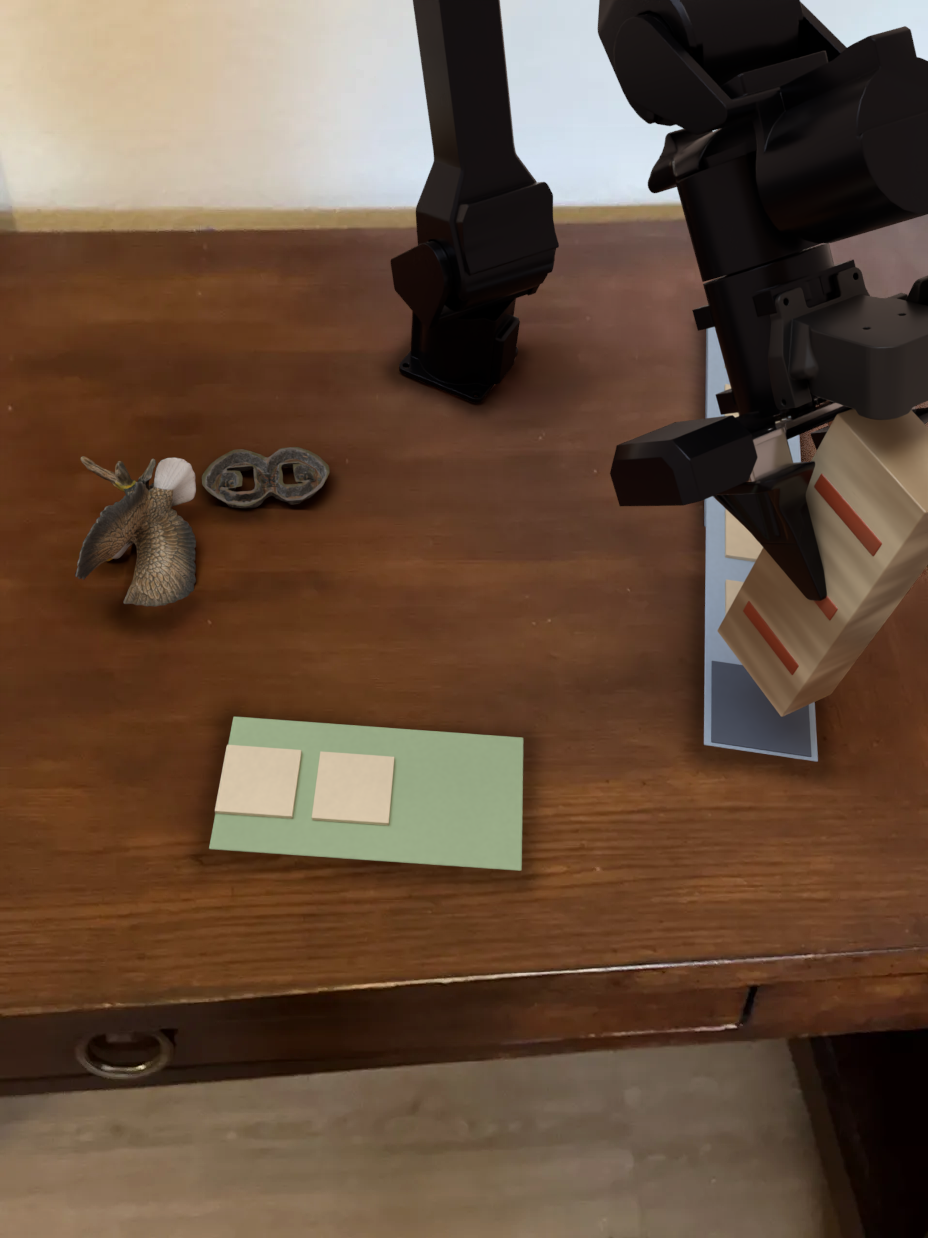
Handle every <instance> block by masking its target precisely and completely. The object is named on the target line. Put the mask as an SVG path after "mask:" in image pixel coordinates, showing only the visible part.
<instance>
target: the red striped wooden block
mask: <svg viewBox="0 0 928 1238" xmlns="http://www.w3.org/2000/svg"><path fill="white" fill-rule="evenodd" d="M813 461H815V468H814V471H813V474H812V477H811V480H810V483H809V485H808V488H807V491H806V502H807V505H808V509H809V513H810V517H811V521H812V525H813V528H814V532H815V536H816V540H817V544H818V548H819V552H820V556H821V560H822V564H823V569H824V575H825V582H826V590H827V597H826V598H825V599H824V600H821V601H813V600H808V599H807V598H806V597H805V596H804V595H803V594H802V593H801V591H800V590H799V589H798V588H797V587H796V586H795V584H794V583H793V582H792V581H791V580H790V578H789V577H788V576H787V575H786V574H785V573H784V571H783V570H782V569H781V568H780V567H779V565H778V564H777V563H776V562H775V561H774V560H773V558H772V557H771V556H770V555H769V554H768V553H767V551H766V550H765V549H764V548H763V549H762V551H761V552H760V554H759V556H758V558H757V560H756V561H755V563H754V565H753V567H752V569H751V570H750V572H749V574H748V576H747V578H746V579H745V581H744V583H743V585H742V587H741V588H740V590H739V592H738V594H737V596H736V597H735V599H734V601H733V603H732V605H731V607H730V608H729V610H728V612H727V614H726V616H725V617H724V619H723V621H722V623H721V625H720V626H719V628H718V630H717V631H718V633H719V634H720V635H721V637H722V638H723V639H724V641H725V642H726V643H727V645H728V646H729V647H730V649H731V650H732V651H733V653H734V654H735V655H736V657H737V658H738V659H739V661H740V662H741V663H742V665H743V666H744V668H745V669H746V670H747V672H748V673H749V674H750V676H751V677H752V678H753V680H754V681H755V682H756V684H757V685H758V686H759V688H760V689H761V690H762V692H763V693H764V694H765V696H766V697H767V698H768V700H769V701H770V702H771V704H772V705H773V706H774V708H775V709H776V710H777V712H778V713H779V715H780V716H781V717H783V716H785V715H787V714H790V713H792V712H794V711H796V710H798V709H800V708H802V707H805V706H807V705H809V704H811V703H813V702H817V701H819V700H822V699H824V698H826V697H828V696H831V694H833V692H834V691H835V690H836V688H837V687H838V686H839V685H840V683H841V682H842V680H843V679H844V678H845V677H846V675H847V674H848V672H849V671H850V670H851V668H852V667H853V665H855V663H856V662H857V660H858V659H859V658H860V656H861V655H862V654H863V652H864V651H865V650H866V648H867V647H868V646H869V644H870V643H871V642H872V640H873V639H874V637H875V636H876V635H877V634H878V632H879V631H880V630H881V628H882V627H883V626H884V624H885V623H886V621H887V620H888V619H889V617H890V616H891V615H892V614H893V613H894V611H895V610H896V608H898V605H899V604H900V603H901V602H902V601H903V599H904V598H905V596H906V595H907V594H908V592H909V591H910V589H911V588H913V586H914V584H915V583H916V582H917V581H918V579H919V578H920V576H921V575H922V574H923V572H924V571H925V570H926V568H927V567H928V426H927V424H924V423H923V422H922V421H921V420H920V419H919V418H918V417H917V416H916V415H915V414H914V412H913V411H912V410H911V411H910V412H909V413H908V414H906V415H904V416H902V417H899V418H896V419H891V420H873V419H868V418H865V417H862V416H860V415H859V414H858V413H857V411H856V410H855V409H850V410H847V411H844V412H841V413H839V414H837V415H836V417H835V419H834V420H833V422H832V424H831V426H830V428H829V429H828V431H827V433H826V435H825V437H824V439H823V440H822V442H821V444H820V446H819V448H818V449H817V450H816V451H815V453H814V454H813V456H812V459H811V460H810V462H813Z"/></svg>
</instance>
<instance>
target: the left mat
mask: <svg viewBox="0 0 928 1238" xmlns="http://www.w3.org/2000/svg"><path fill="white" fill-rule="evenodd" d="M524 741H525V739H524V737H519V736H507V735H490V734H479V733H478V734H477V733H465V732H464V733H463V732H451V731H438V730H437V731H436V730H422V729H410V728H395V727H383V726H382V727H381V726H371V725H370V726H369V725H357V724H355V725H353V724H343V723H342V724H340V723H328V722H314V721H301V720H287V719H275V718H273V719H272V718H259V717H246V716H233V717H232V722H231V728H230V733H229V738H228V743H227V744H226V748H225V753H224V758H223V764H222V769H221V774H220V779H219V785H218V791H217V796H216V801H215V805H214V806H215V807H214V818H213V819H214V820H213V825H212V830H211V835H210V841H209V847H208V849H209V850H216V851H218V850H219V851H232V852H244V853H245V852H246V853H258V854H259V853H261V854H274V855H288V856H305V857H316V858H317V857H318V858H331V859H346V860H347V859H348V860H362V861H373V862H374V861H375V862H388V863H389V862H391V863H402V864H403V863H405V864H416V865H418V864H419V865H434V866H446V867H460V868H462V867H463V868H476V869H489V870H490V869H491V870H505V871H519V872H520V871H522V870H523V815H524V814H523V810H524V807H523V806H524Z"/></svg>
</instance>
